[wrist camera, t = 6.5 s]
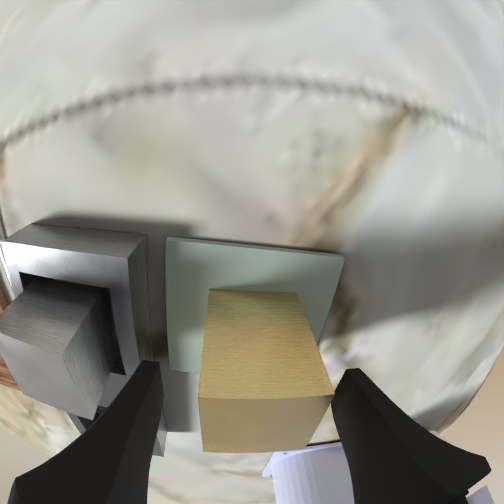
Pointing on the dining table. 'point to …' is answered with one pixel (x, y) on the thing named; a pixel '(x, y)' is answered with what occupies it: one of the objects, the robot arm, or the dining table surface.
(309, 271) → the mat
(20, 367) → the gray metal block
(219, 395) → the tan wooden block
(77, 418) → the gray slotted board
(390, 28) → the dining table surface
